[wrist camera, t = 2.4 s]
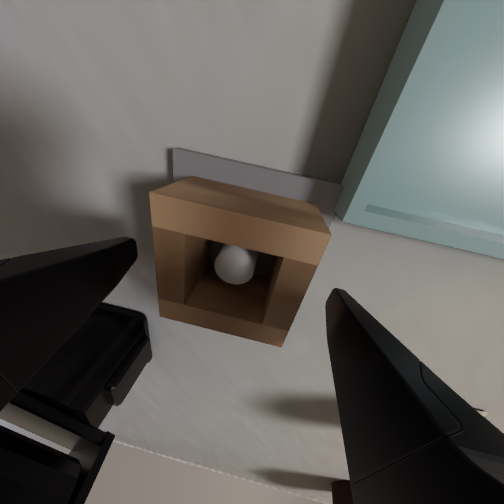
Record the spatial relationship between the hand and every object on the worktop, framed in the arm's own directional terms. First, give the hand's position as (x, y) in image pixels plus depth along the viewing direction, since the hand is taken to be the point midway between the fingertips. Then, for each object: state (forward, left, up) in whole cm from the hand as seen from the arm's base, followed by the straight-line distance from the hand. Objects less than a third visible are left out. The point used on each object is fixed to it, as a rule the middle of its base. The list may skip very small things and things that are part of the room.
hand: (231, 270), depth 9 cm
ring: (0, 0, -2) cm, 3 cm away
